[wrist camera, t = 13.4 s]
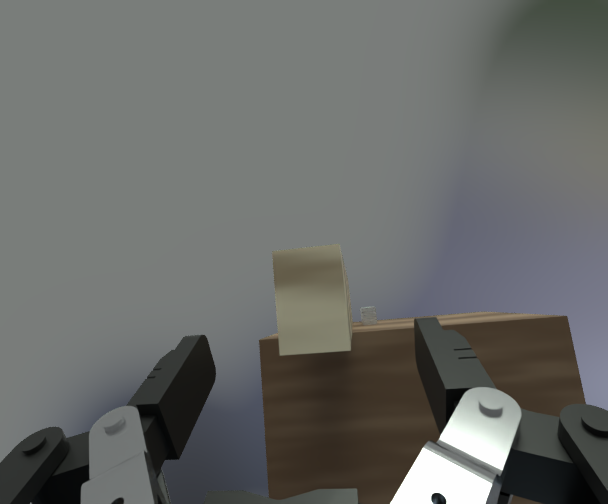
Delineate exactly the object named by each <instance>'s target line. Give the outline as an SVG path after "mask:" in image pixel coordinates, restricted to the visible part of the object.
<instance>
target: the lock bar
mask: <svg viewBox="0 0 608 504" xmlns="http://www.w3.org/2000/svg"><path fill="white" fill-rule="evenodd" d="M272 255H273V269H274V283H275V296H276V311H277V324H278V339H279V353H280V356H281V355H296V354H310V353H324V352H338V351H351V340H352V325H353V322H352V313H351V303H350V294H349V285H348V278H347V274H346V270H345V266H344V261H343V257H342V253H341V249H340V244H333V245H325V246H316V247H307V248H298V249H289V250H280V251H273V252H272Z"/></svg>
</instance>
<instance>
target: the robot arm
mask: <svg viewBox="0 0 608 504" xmlns="http://www.w3.org/2000/svg"><path fill="white" fill-rule="evenodd" d="M414 337H415V357H416V364H417V369H418V372H419V375H420V378H421V381H422V384H423V387H424V390H425V393H426V396H427V398H428V401H429V404H430V407H431V410H432V413H433V416H434V419H435V422H436V425H437V428H438V430H439V433H440V438H439V440H438V441H437V442H434V441H432V440H430V441H428V442H427V443H426V444H425V446H424V447H423V449H422V451H421V452H420V454H419V456H418V457H417V459H416V461H415V463H414V464H413V466H412V468H411V469H410V471H409V473H408V475H407V476H406V478H405V480H404V481H403V483H402V485H401V487H400V488H399V490H398V492H397V493H396V495H395V497H394V499H393V500H392V502H391V504H511V500H512V497H513V495H514V496H518V497H521V498H525V499H528V500H532V501H535V502H539V503H542V504H608V411H607V410H604V409H602V408H599V407H596V406H592V405H587V404H572V405H568V406H566V407H564V408H563V409H562V410H561V412H560V417H557V416H551V415H546V414H541V413H536V412H531V411H528V410H525V409H522V408H520V407H519V405H518V404H517V402H516V401H515V400H514V399H513V398H512V397H510V396H509V395H507V394H506V393H504V392H502V391H499V390H497V388H496V387H495V385H494V384H493V382H492V380H491V379H490V377H489V376H488V374H487V372H486V371H485V369H484V367H483V366H482V364H481V363H480V361H479V359H477V356H476V354H475V353H474V351H473V350H472V348H471V346H470V345H469V343H468V342H467V340H466V338H465V337H463V336H462V335H461V334H459V333H458V332H456V331H455V330H443V329H442V327H441V325H440V323H439V321H438V319H437V318H436V317H427V318H415V319H414ZM215 377H216V369H215V365H214V361H213V358H212V354H211V351H210V347H209V344H208V340H207V338H206V336H205V335H195V336H185V337H183V339H182V340H181V342H180V343H179V344H178V346H177V347H176V349H175V350H171V351H170V352H169V353H168V354H166V355H165V356H164V357H162V359H160V360H159V362H158V363H157V365H156V366H155V367H154V369H153V371H151V373H150V374H149V375H148V377H147V379H145V381H144V382H143V383H142V385H141V386H140V388H139V389H138V390H137V392H136V393H135V394H134V396H133V397H132V398H131V400H130V401H129V402H128V404H127V405H126V406H123V407H119V408H117V409H114V410H112V411H110V412H108V413H107V414H105V415H104V416H102V417H101V418H100V419H99V420H98V421H97V422H96V423H95V424H94V425H93V426H92V428H91V430H90V431H89V432H85V433H82V434H79V435H76V436H73V437H69V438H66V436H65V434H64V432H63V431H62V429H61V428H59V427H49V428H46V429H42V430H40V431H38V432H36V433H34V434H32V435H30V436H29V437H27V438H26V439H24V440H23V441H21V442H20V443H19V444H18V445H17V446H16V447H15V448H14V449H13V450H12V451H11V452H10V453H9V454H8V455H7V456H6V457H5V458H4V460H3V461H2V462H1V463H0V504H30V502H31V503H32V504H171V502H170V498H169V494H168V490H167V486H166V482H165V478H164V474H163V472H162V469H161V467H162V464H163V462H164V461H165V460H177V459H179V458H180V456H181V454H182V452H183V450H184V447H185V445H186V443H187V441H188V439H189V437H190V434H191V432H192V430H193V428H194V426H195V424H196V421H197V419H198V417H199V415H200V413H201V411H202V408H203V406H204V404H205V402H206V400H207V398H208V395H209V393H210V391H211V389H212V387H213V384H214V382H215ZM204 504H363V503H359V499H358V491H357V488H354V489H318V490H314V491H311V492H307V493H304V494H300V495H297V496H293V497H290V498H286V499H283V500H275V499H271V498H268V497H264V496H260V495H257V494H253V493H250V492H246V491H208V492H207V495H206V498H205V501H204Z"/></svg>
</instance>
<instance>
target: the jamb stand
mask: <svg viewBox="0 0 608 504" xmlns="http://www.w3.org/2000/svg"><path fill="white" fill-rule="evenodd" d="M427 317H436V318H437V319H438V321H439V323H440V325H441V327H442V329H443V330H455V331H456V332H458V333H459V334H461V335H462V336H463V337H465V338H466V340H467V342H468V343H469V345H470V346H471V348H472V350H473V351H474V353H475V354H476V356H477V359H479V361H480V363H481V364H482V366H483V367H484V369H485V371H486V372H487V374H488V376H489V377H490V379H491V380H492V382H493V384H494V385H495V387H496V388H497V390H499V391H502V392H504V393H506V394H507V395H509V396H510V397H512V398H513V399H514V400H515V401H516V402H517V404H518V405H519V407H520V408H522V409H525V410H528V411H531V412H536V413H541V414H546V415H551V416H557V417H560V412H561V410H562V409H563V408H564V407H566V406H568V405H572V404H586V402H585V398H584V393H583V388H582V384H581V379H580V374H579V370H578V365H577V361H576V355H575V351H574V346H573V342H572V337H571V332H570V327H569V323H568V318H567V316H557V315H538V314H517V313H499V312H473V313H461V314H449V315H438V316H437V315H436V316H424V317H412V318H400V319H388V320H377V324H375V325H363V323H362V322H353V325H352V340H351V351H338V352H324V353H310V354H296V355H281V356H280V353H279V339H278V333H277V334H274V335H271V336H268V337H265V338H263V339H260V340H259V344H260V360H261V377H262V393H263V409H264V425H265V441H266V457H267V473H268V489H269V498H271V499H275V500H283V499H286V498H290V497H293V496H297V495H300V494H304V493H307V492H311V491H314V490H318V489H354V488H357V491H358V499H359V503H363V504H391V502H392V500H393V499H394V497H395V495H396V493H397V492H398V490H399V488H400V487H401V485H402V483H403V481H404V480H405V478H406V476H407V475H408V473H409V471H410V469H411V468H412V466H413V464H414V463H415V461H416V459H417V457H418V456H419V454H420V452H421V451H422V449H423V447H424V446H425V444H426V443H427V442H428V441H430V440H432V441H434V442H437V441H438V440H439V438H440V433H439V430H438V428H437V425H436V422H435V419H434V416H433V413H432V410H431V407H430V404H429V401H428V398H427V396H426V393H425V390H424V387H423V384H422V381H421V378H420V375H419V372H418V369H417V364H416V357H415V337H414V319H415V318H427ZM511 504H542V503H539V502H535V501H532V500H528V499H525V498H521V497H518V496H514V495H513V497H512V500H511Z"/></svg>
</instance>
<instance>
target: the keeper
mask: <svg viewBox="0 0 608 504" xmlns="http://www.w3.org/2000/svg"><path fill="white" fill-rule="evenodd" d="M360 309H361V317H362V323H363V325H375V324H377V318H376V309H375V307H363V308H360Z"/></svg>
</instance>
